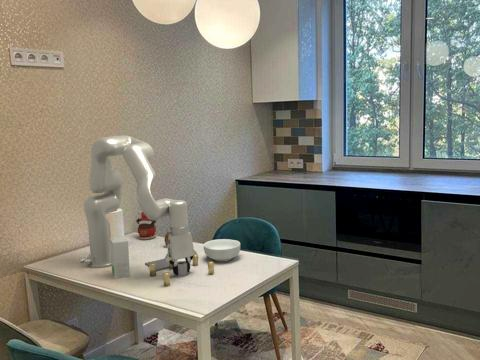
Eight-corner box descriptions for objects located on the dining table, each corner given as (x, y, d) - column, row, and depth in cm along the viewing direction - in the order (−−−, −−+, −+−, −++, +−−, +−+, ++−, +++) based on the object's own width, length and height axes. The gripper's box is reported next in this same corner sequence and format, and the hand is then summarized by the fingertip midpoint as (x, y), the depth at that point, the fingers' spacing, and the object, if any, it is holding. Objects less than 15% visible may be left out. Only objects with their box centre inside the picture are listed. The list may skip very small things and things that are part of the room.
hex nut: (179, 277, 191) (179, 265, 190) (174, 274, 195) (173, 262, 194) (189, 275, 193) (188, 263, 192) (183, 271, 197) (183, 260, 197)
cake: (159, 235, 257) (157, 203, 254) (153, 240, 248) (151, 207, 245) (141, 235, 259) (139, 203, 256) (134, 240, 250) (132, 207, 247)
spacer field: (165, 286, 181) (164, 274, 180) (146, 273, 197) (146, 262, 196) (215, 273, 193) (214, 262, 193) (194, 262, 209) (193, 251, 208)
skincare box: (112, 272, 200) (109, 237, 198) (127, 270, 202) (124, 235, 200) (115, 279, 192) (111, 242, 190) (131, 276, 195) (128, 240, 192)
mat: (155, 271, 199) (155, 269, 199) (145, 264, 209) (145, 262, 209) (181, 265, 206) (181, 263, 206) (169, 258, 216) (169, 257, 216)
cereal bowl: (233, 266, 202) (232, 250, 201) (198, 263, 208) (197, 247, 207) (246, 254, 218) (245, 239, 217) (213, 251, 224) (212, 237, 222)
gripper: (163, 236, 184) (166, 280, 186) (201, 228, 193) (203, 271, 195) (156, 232, 190) (159, 275, 193) (193, 225, 199) (195, 266, 202)
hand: (181, 272), depth 194 cm, fingers closed on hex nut, 4 cm apart
